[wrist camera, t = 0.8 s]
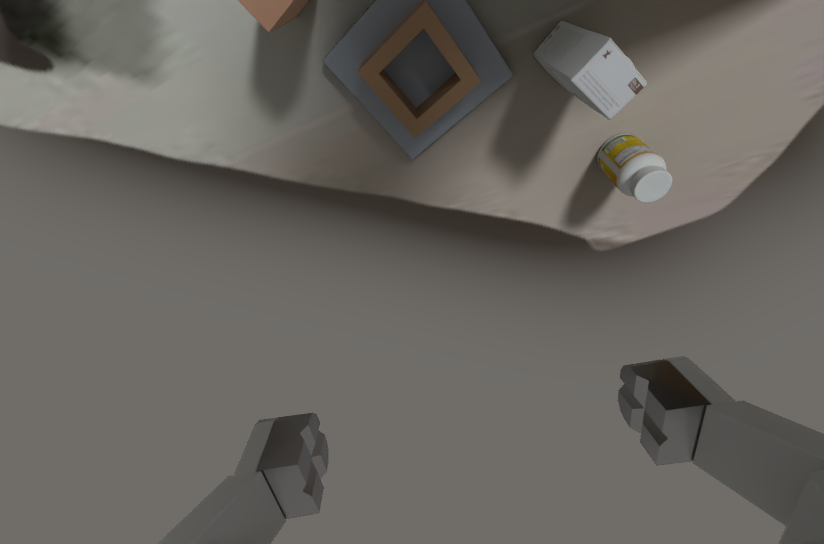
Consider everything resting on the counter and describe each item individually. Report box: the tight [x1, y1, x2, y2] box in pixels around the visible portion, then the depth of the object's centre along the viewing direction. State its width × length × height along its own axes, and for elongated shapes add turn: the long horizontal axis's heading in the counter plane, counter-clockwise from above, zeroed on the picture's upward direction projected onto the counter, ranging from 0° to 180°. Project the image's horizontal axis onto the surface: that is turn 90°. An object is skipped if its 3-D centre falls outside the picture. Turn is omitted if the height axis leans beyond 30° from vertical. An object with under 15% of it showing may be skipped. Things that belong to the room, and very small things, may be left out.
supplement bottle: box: [597, 134, 672, 203], centre depth 46 cm, size 5×5×10 cm
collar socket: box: [322, 0, 514, 160], centre depth 41 cm, size 15×15×6 cm
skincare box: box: [533, 21, 647, 120], centre depth 38 cm, size 6×4×12 cm
